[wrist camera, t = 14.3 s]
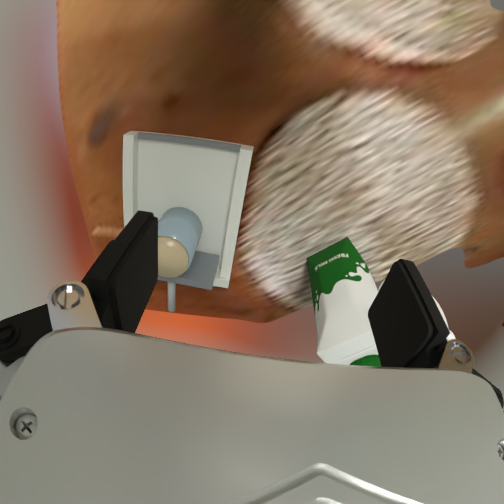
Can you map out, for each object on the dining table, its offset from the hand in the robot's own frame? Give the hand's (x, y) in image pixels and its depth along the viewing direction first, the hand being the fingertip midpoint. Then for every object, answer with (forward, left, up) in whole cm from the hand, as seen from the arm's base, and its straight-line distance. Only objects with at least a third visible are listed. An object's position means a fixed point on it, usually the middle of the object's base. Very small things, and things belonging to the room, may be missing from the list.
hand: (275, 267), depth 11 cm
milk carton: (+18, +14, -28) cm, 36 cm away
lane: (+13, -10, -28) cm, 33 cm away
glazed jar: (+16, -10, -28) cm, 34 cm away
